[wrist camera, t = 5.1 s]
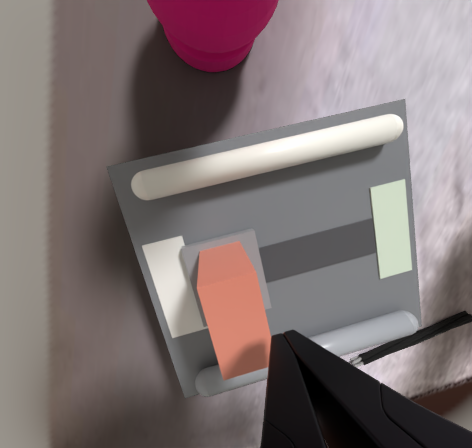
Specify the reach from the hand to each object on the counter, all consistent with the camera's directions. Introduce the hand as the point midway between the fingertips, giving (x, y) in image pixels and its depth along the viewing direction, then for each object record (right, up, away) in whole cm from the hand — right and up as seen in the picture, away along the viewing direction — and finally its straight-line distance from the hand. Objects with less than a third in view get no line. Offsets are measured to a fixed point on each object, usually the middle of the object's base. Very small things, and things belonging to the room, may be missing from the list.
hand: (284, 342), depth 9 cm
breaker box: (+1, +3, +11) cm, 11 cm away
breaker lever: (-2, +1, +7) cm, 7 cm away
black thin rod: (+15, -7, +15) cm, 22 cm away
